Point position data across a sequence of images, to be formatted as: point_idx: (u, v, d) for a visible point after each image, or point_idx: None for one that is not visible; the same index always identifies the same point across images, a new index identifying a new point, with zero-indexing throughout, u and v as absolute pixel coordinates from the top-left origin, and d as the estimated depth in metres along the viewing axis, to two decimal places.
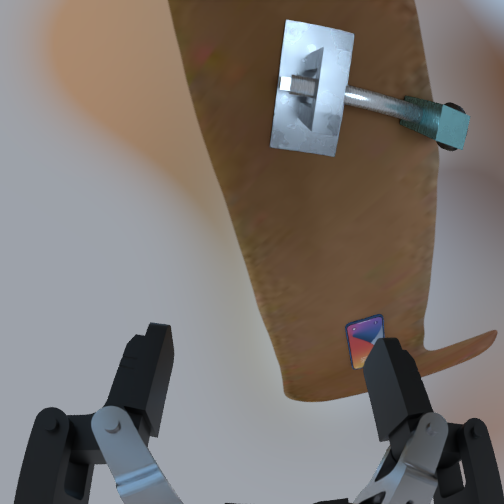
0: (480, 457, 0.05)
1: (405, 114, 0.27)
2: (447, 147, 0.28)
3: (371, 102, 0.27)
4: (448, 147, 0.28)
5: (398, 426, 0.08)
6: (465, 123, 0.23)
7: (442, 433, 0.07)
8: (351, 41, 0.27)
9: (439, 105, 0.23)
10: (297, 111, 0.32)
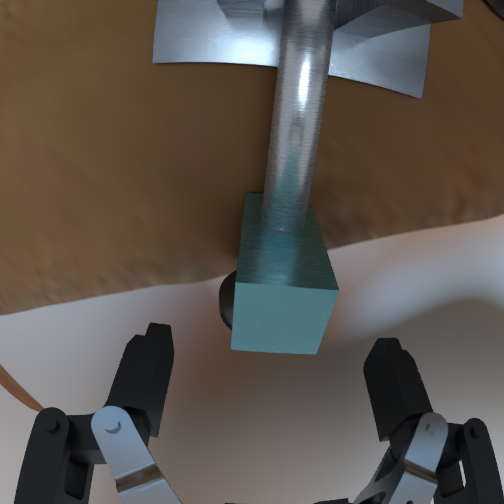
0: (480, 457, 0.05)
1: (280, 193, 0.13)
2: (224, 304, 0.16)
3: (298, 99, 0.11)
4: (225, 307, 0.16)
5: (398, 426, 0.08)
6: (297, 347, 0.13)
7: (442, 433, 0.07)
8: (407, 90, 0.14)
9: (331, 279, 0.12)
10: None
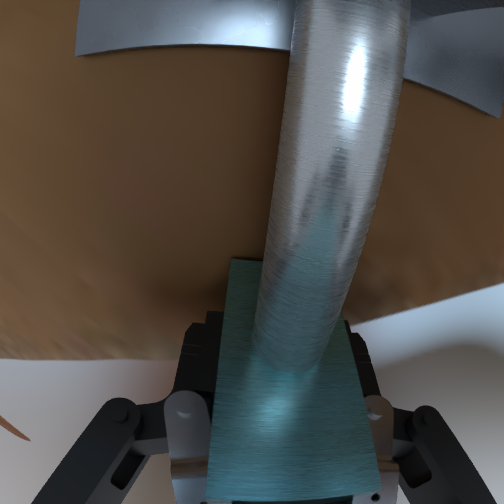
0: (440, 445, 0.06)
1: (290, 314, 0.07)
2: None
3: (345, 118, 0.04)
4: None
5: None
6: None
7: (386, 418, 0.07)
8: (484, 105, 0.08)
9: (370, 468, 0.05)
10: None
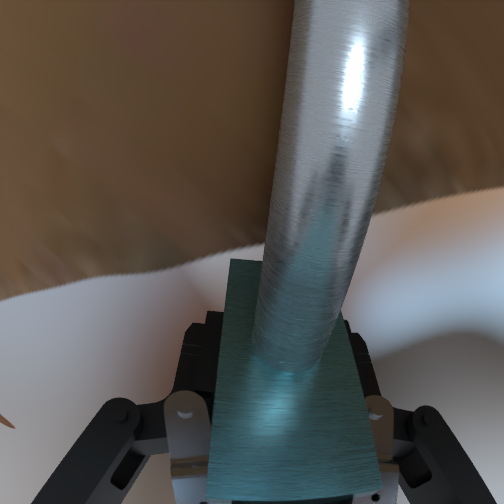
0: (440, 445, 0.06)
1: (289, 313, 0.07)
2: None
3: (344, 117, 0.04)
4: None
5: None
6: None
7: (386, 418, 0.07)
8: None
9: (371, 467, 0.05)
10: None
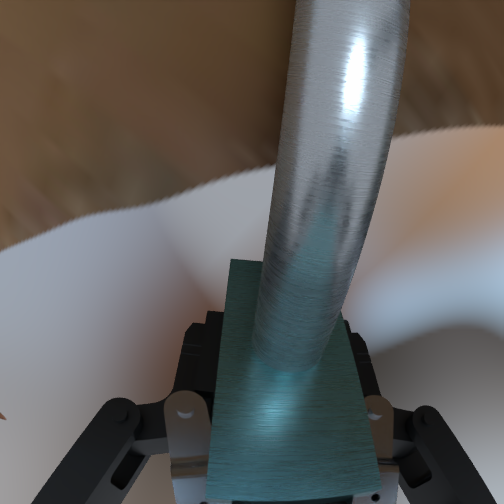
0: (440, 445, 0.06)
1: (289, 313, 0.07)
2: None
3: (345, 118, 0.04)
4: None
5: None
6: None
7: (386, 418, 0.07)
8: None
9: (370, 467, 0.05)
10: None
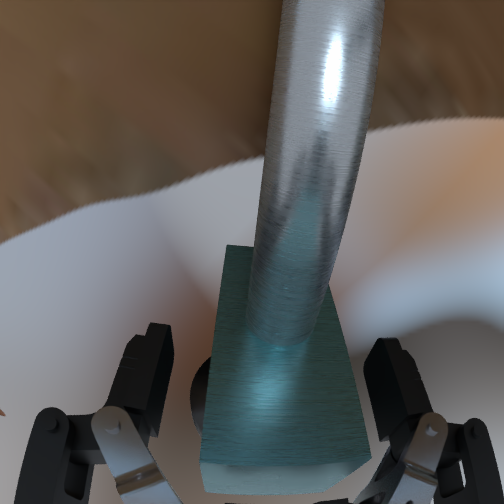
0: (480, 457, 0.05)
1: (279, 284, 0.07)
2: (197, 414, 0.10)
3: (323, 104, 0.05)
4: (198, 418, 0.10)
5: (398, 426, 0.08)
6: (298, 491, 0.07)
7: (442, 433, 0.07)
8: None
9: (359, 437, 0.06)
10: None
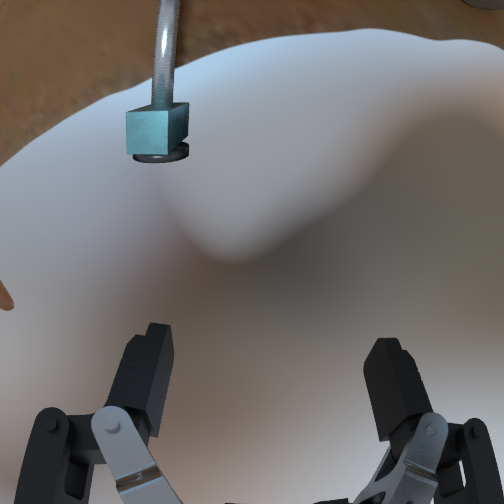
0: (480, 457, 0.05)
1: (155, 86, 0.25)
2: None
3: (160, 45, 0.23)
4: None
5: (398, 426, 0.08)
6: (156, 149, 0.25)
7: (442, 433, 0.07)
8: None
9: (167, 110, 0.24)
10: None
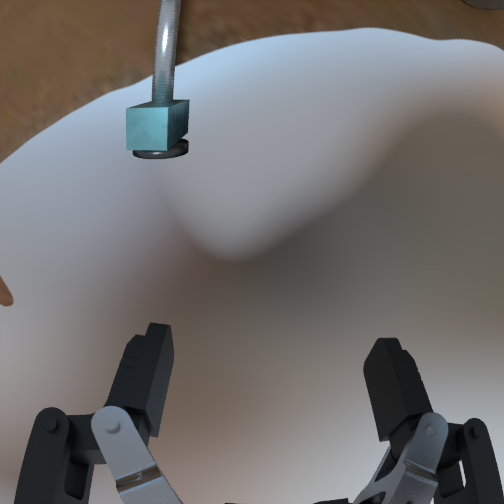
0: (480, 457, 0.05)
1: (156, 83, 0.25)
2: None
3: (161, 43, 0.23)
4: None
5: (398, 426, 0.08)
6: (156, 145, 0.25)
7: (442, 433, 0.07)
8: None
9: (167, 106, 0.24)
10: None
